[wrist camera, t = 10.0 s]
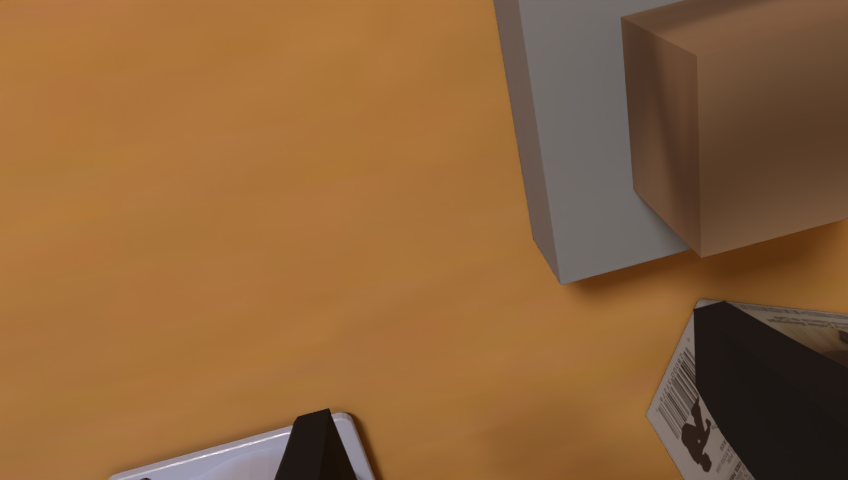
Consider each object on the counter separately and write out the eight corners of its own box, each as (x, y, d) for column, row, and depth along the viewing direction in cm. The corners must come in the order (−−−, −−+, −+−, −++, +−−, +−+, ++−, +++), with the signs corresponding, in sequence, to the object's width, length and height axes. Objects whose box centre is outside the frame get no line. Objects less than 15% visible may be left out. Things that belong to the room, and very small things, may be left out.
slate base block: (533, 238, 24) (560, 285, 21) (482, -68, 19) (509, -57, 16) (809, 163, 24) (870, 200, 22) (830, -160, 19) (912, -163, 17)
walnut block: (620, 17, 18) (697, 56, 14) (808, -33, 18) (929, -6, 14) (633, 189, 20) (701, 258, 17) (798, 144, 20) (899, 204, 17)
